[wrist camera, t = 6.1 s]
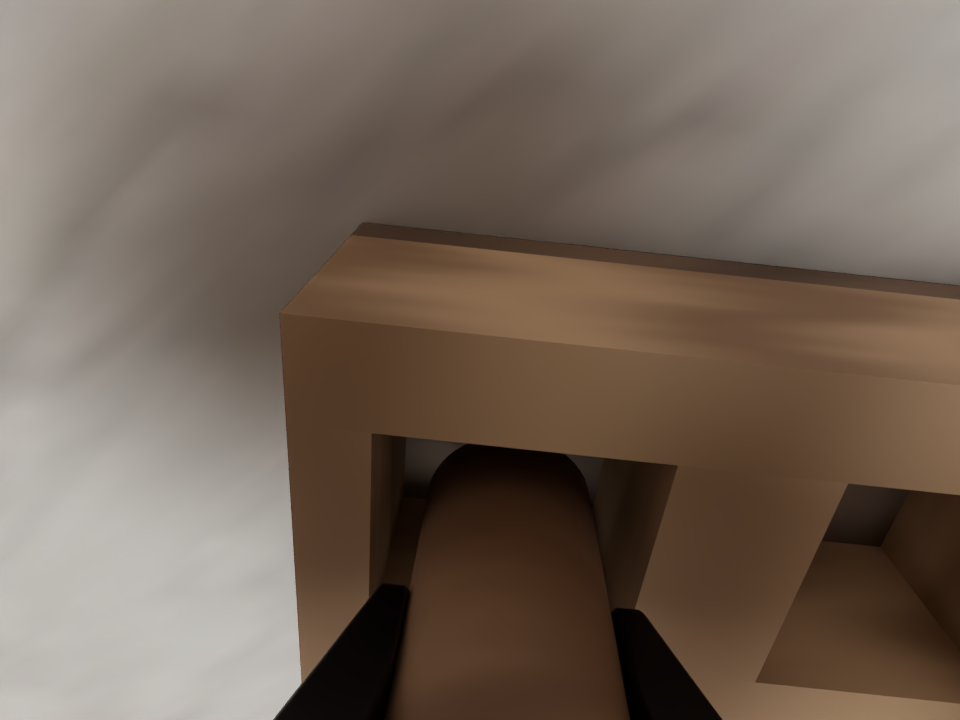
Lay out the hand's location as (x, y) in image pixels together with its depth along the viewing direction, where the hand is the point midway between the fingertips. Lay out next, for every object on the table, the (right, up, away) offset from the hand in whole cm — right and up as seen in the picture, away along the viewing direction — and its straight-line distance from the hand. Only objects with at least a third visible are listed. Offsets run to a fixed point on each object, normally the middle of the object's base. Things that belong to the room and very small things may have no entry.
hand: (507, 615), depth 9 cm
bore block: (+4, +2, +5) cm, 7 cm away
